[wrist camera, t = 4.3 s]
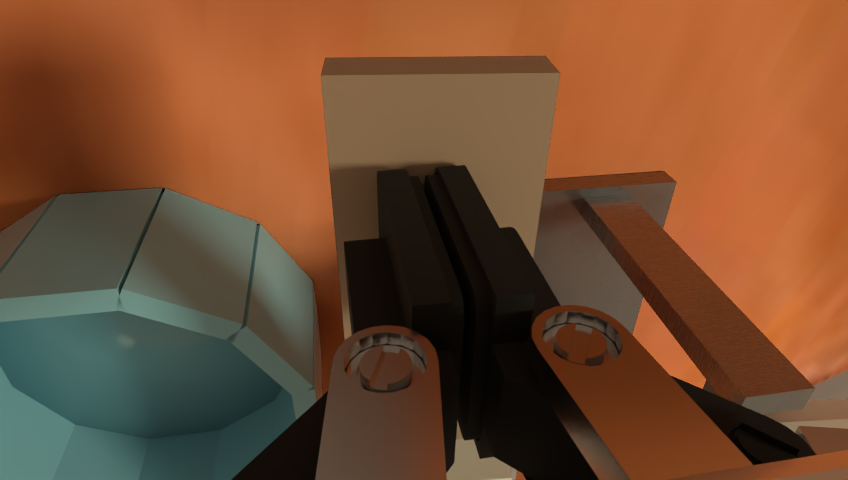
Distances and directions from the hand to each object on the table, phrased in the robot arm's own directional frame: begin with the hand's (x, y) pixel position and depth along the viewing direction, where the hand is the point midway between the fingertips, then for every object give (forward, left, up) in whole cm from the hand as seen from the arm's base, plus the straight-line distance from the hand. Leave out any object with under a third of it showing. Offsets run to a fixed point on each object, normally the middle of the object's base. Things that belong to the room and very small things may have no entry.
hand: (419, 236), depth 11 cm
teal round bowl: (+10, +11, -11) cm, 18 cm away
